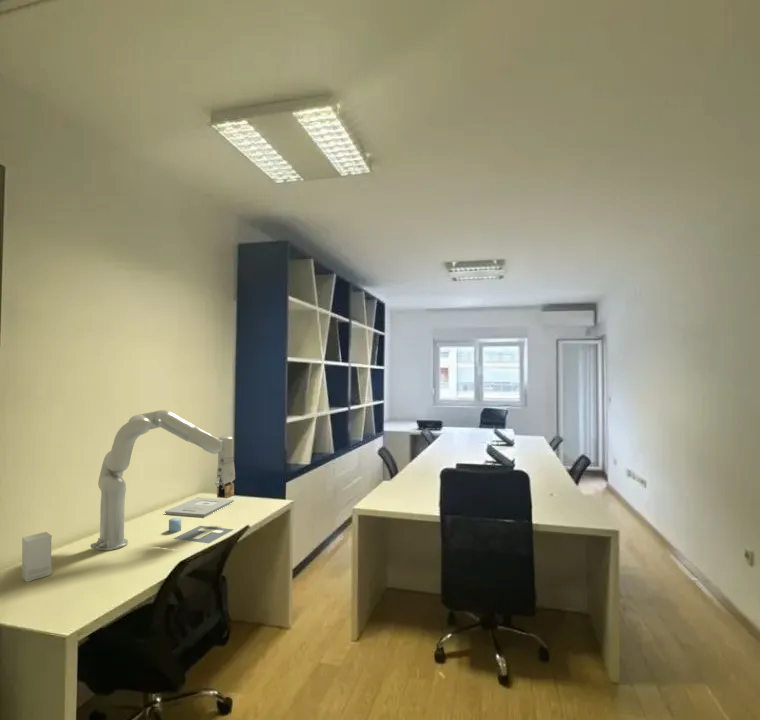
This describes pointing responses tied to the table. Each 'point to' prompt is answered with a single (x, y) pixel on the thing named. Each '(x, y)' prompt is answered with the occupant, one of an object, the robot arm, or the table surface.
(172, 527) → the blue canister
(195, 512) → the award plaque
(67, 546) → the table surface
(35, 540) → the skincare box
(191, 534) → the letter mat
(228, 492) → the oak block
